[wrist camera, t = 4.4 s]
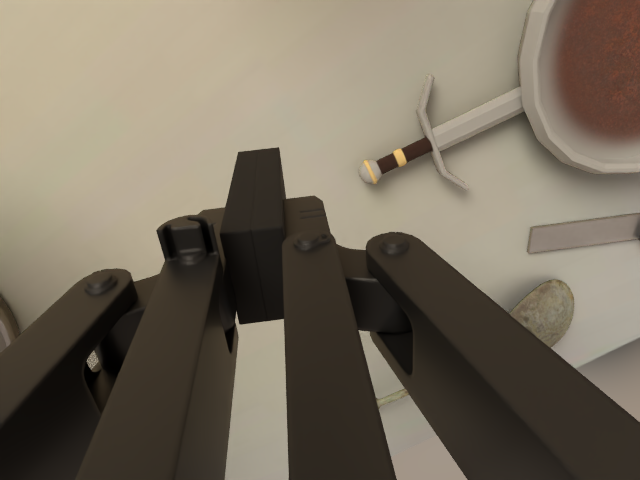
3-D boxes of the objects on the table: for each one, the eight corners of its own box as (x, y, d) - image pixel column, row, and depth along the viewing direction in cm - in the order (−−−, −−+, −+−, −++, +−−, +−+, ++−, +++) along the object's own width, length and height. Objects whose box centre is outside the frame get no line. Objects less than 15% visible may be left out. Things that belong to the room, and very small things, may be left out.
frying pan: (305, 56, 25) (841, -224, 21) (302, 50, 27) (780, -200, 24) (407, 282, 33) (811, 109, 29) (398, 261, 35) (768, 100, 31)
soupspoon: (576, 314, 40) (554, 259, 37) (601, 337, 37) (580, 279, 34) (362, 426, 43) (327, 382, 40) (369, 456, 40) (332, 411, 37)
